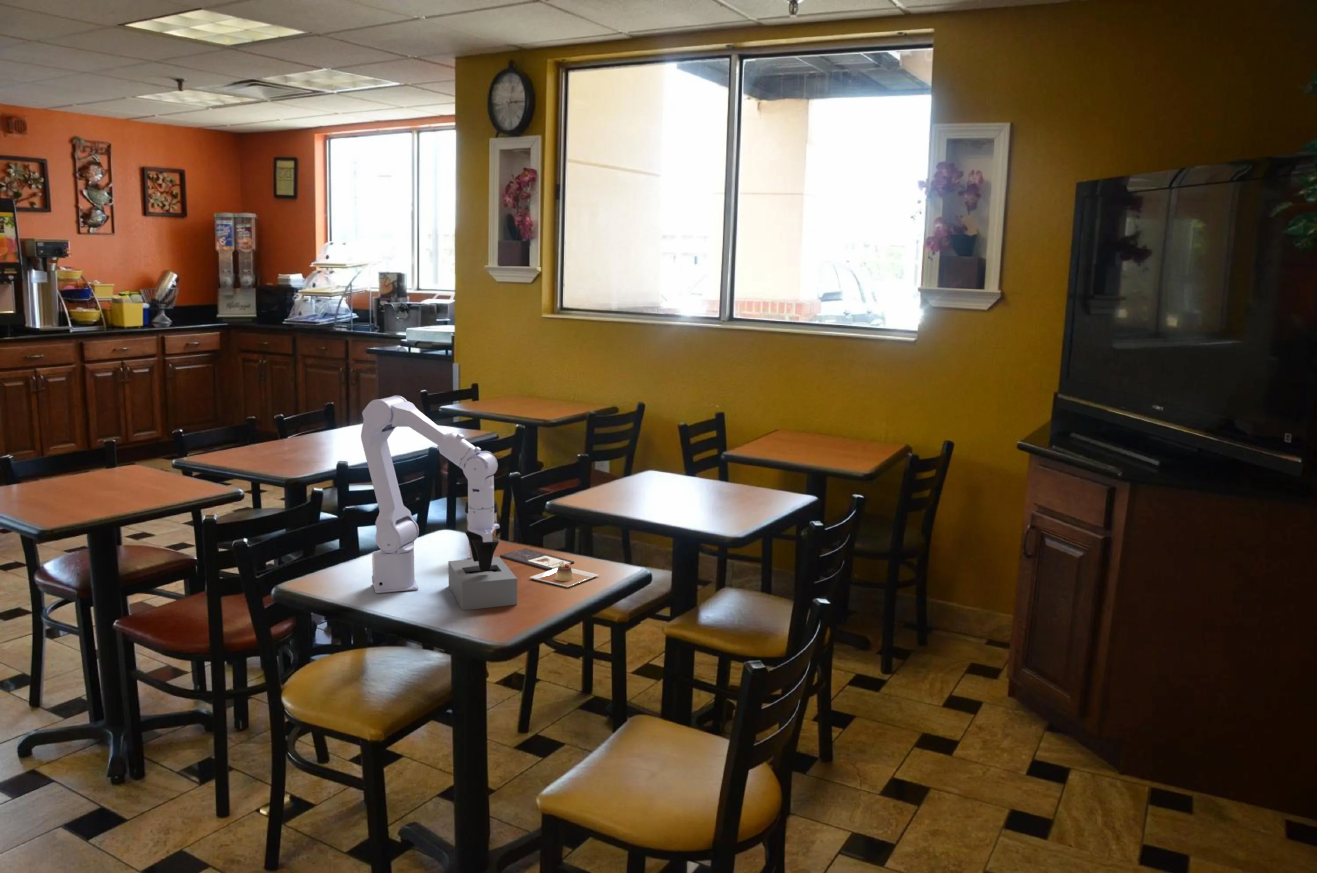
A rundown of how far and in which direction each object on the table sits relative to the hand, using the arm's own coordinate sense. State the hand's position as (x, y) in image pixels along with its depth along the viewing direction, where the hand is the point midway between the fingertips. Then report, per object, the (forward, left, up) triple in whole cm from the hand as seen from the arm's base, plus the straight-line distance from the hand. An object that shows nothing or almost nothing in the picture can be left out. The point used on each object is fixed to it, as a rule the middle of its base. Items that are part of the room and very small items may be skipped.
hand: (481, 565), depth 222 cm
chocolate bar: (+19, +24, -8) cm, 31 cm away
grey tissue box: (0, 0, -7) cm, 7 cm away
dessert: (+21, +7, -8) cm, 24 cm away
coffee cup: (+6, +30, -7) cm, 31 cm away
